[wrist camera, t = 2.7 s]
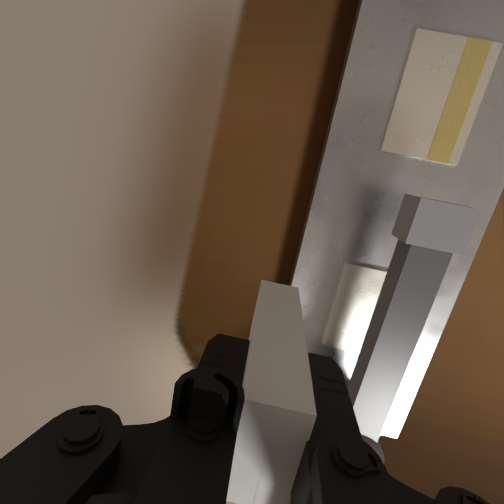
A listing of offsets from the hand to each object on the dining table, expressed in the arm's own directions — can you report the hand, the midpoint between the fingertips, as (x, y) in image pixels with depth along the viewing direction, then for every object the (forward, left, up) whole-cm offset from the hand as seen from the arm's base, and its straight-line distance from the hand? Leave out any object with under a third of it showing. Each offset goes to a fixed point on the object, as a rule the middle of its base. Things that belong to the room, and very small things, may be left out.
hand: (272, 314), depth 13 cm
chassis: (-2, +8, -13) cm, 15 cm away
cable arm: (+4, +8, -7) cm, 11 cm away
